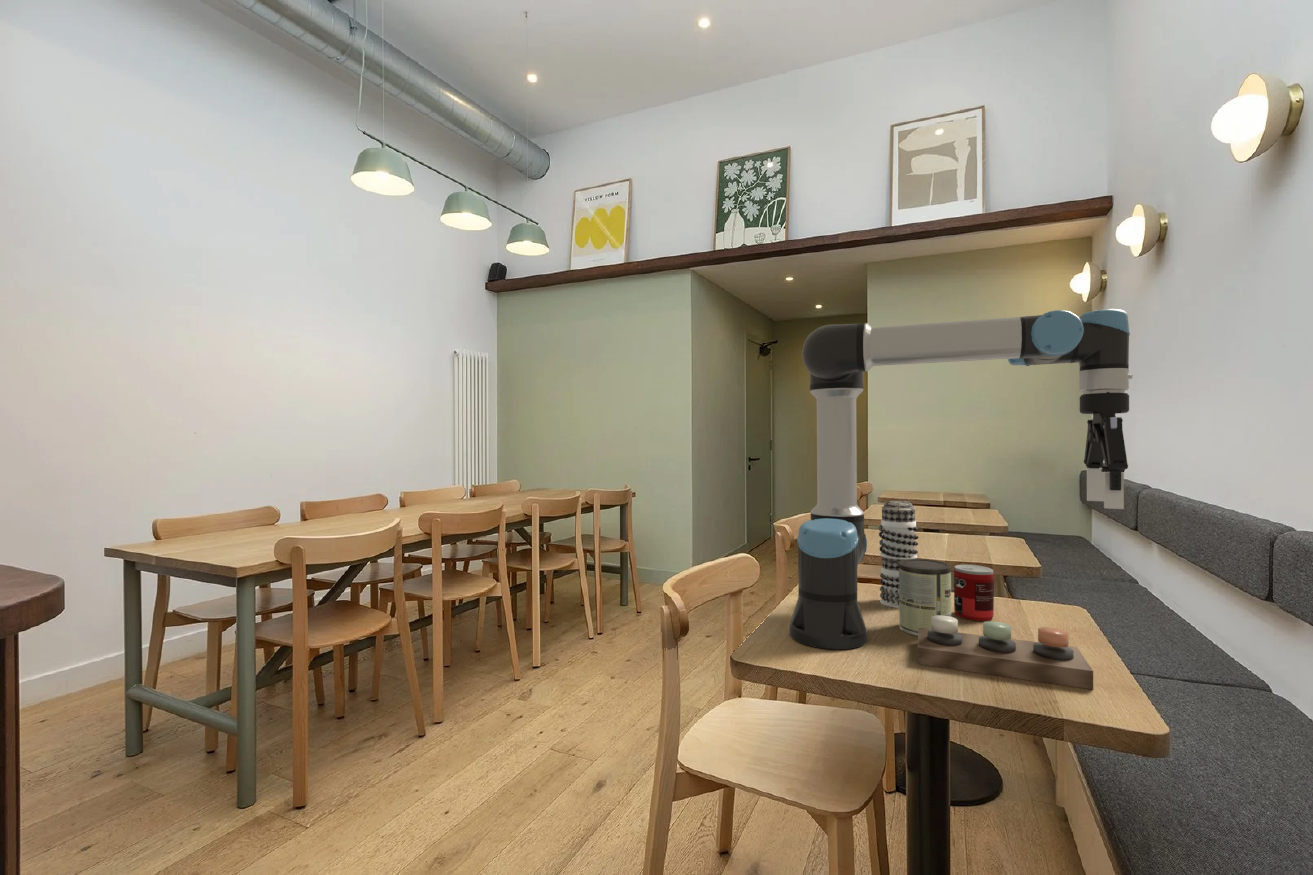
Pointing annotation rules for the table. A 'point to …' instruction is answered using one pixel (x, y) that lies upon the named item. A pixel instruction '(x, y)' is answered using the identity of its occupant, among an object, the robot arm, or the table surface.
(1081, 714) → the table surface
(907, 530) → the decorative candle
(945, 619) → the button cream
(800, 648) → the table surface
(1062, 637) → the button terracotta
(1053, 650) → the button panel
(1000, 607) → the table surface
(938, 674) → the table surface
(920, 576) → the coffee can
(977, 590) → the canned food
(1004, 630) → the button green
